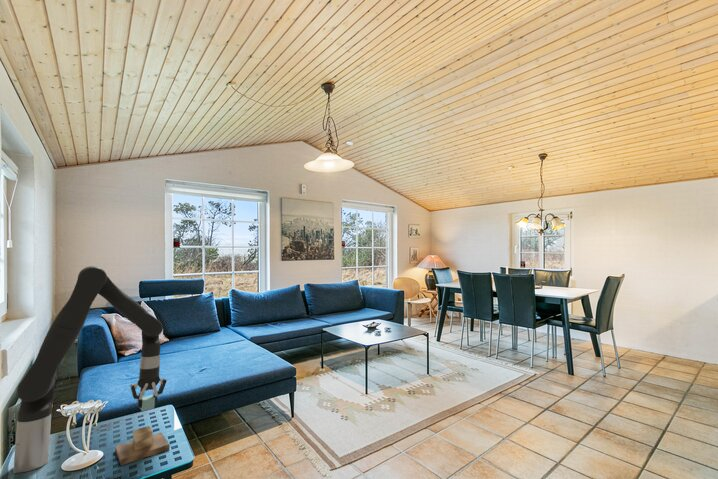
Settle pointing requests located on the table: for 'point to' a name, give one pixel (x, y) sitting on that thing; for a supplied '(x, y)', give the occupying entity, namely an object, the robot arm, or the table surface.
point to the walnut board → (129, 454)
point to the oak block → (142, 437)
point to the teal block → (148, 403)
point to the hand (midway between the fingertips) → (147, 406)
